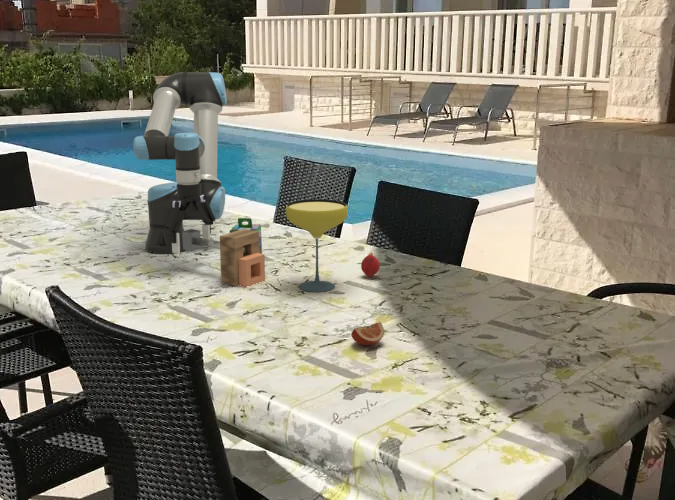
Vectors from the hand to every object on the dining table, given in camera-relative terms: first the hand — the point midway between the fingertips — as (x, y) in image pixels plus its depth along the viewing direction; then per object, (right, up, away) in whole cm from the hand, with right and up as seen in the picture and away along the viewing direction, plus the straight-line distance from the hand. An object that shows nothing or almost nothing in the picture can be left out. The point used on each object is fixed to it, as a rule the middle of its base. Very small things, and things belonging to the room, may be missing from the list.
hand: (191, 248), depth 243 cm
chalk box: (+16, -4, +14) cm, 22 cm away
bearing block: (+17, -10, -9) cm, 22 cm away
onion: (+57, -9, -5) cm, 58 cm away
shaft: (+8, -2, -5) cm, 10 cm away
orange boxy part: (+21, -7, -13) cm, 25 cm away
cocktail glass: (+41, -12, -15) cm, 45 cm away
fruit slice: (+54, -24, -60) cm, 84 cm away
